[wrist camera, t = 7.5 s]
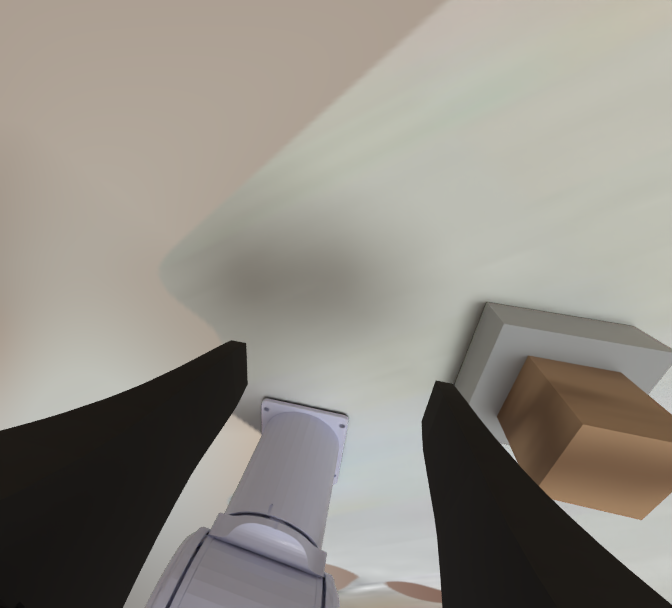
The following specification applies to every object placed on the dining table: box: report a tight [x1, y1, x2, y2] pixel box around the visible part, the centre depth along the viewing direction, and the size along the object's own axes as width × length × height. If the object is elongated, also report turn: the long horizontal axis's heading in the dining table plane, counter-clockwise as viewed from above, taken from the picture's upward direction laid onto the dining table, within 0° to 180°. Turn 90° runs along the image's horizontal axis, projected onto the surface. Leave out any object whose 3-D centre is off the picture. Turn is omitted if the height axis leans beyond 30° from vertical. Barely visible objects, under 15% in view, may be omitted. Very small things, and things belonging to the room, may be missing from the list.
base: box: [454, 302, 672, 445], centre depth 18 cm, size 9×9×3 cm
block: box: [497, 355, 672, 520], centre depth 15 cm, size 5×5×5 cm
